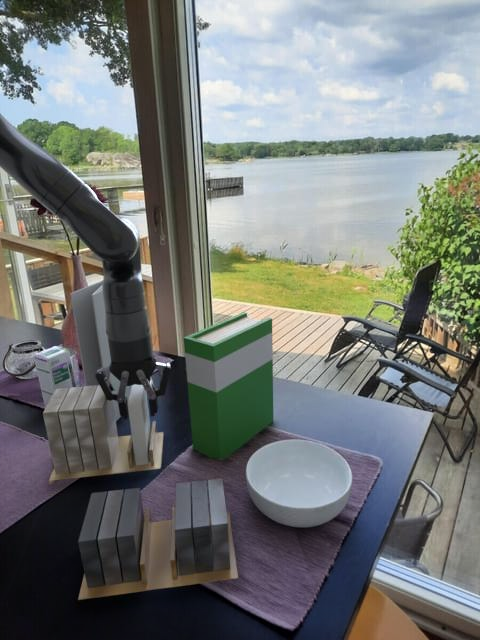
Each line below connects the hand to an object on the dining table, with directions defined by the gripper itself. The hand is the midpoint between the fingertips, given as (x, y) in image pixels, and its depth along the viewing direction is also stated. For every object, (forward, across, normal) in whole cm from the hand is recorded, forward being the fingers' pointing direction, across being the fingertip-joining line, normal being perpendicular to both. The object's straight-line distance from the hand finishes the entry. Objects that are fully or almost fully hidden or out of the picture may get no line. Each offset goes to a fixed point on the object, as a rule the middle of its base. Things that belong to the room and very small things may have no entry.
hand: (139, 415), depth 84 cm
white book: (+8, 0, 0) cm, 8 cm away
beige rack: (+9, +6, 0) cm, 11 cm away
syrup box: (+9, +22, -23) cm, 33 cm away
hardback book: (+9, -18, -4) cm, 21 cm away
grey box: (+9, +8, -20) cm, 23 cm away
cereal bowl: (+9, -26, +18) cm, 33 cm away
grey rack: (+9, -4, +25) cm, 27 cm away
